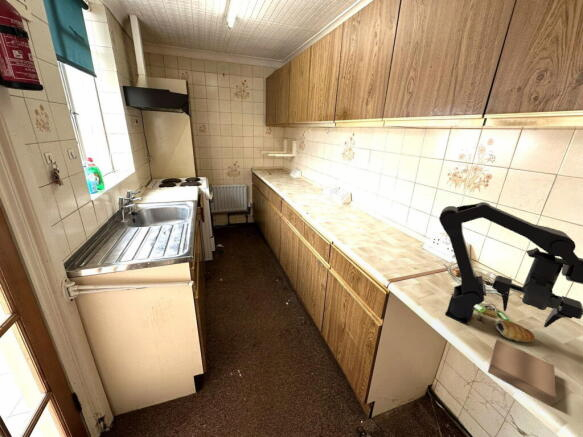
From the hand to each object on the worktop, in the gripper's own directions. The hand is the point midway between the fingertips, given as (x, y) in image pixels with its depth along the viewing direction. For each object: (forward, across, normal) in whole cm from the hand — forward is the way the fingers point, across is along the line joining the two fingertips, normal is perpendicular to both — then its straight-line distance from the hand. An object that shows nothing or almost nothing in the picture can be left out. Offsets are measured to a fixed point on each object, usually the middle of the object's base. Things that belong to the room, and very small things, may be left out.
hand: (523, 318), depth 75 cm
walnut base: (+8, +2, -16) cm, 17 cm away
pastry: (+9, +2, -1) cm, 9 cm away
